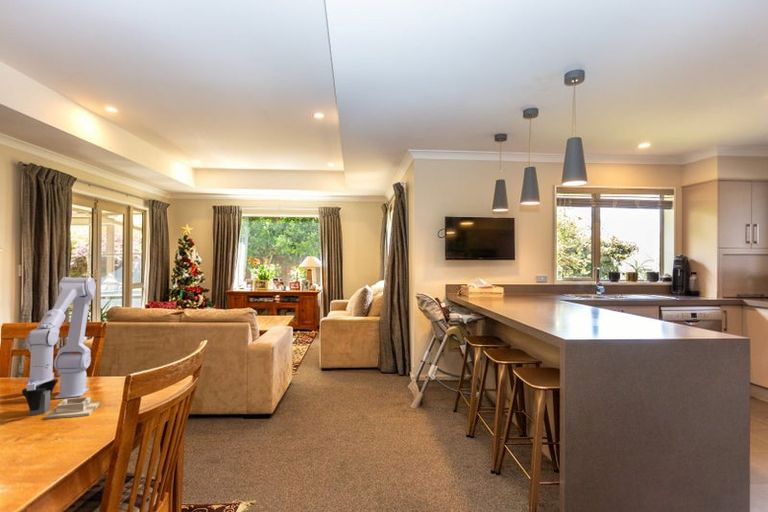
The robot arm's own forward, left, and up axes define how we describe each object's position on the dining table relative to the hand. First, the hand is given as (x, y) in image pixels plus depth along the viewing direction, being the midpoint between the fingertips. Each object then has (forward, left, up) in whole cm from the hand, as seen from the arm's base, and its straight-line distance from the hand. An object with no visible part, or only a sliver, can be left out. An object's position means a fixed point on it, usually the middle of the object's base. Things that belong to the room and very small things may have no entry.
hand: (39, 406), depth 131 cm
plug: (0, 0, -2) cm, 2 cm away
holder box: (+2, +10, -2) cm, 10 cm away
